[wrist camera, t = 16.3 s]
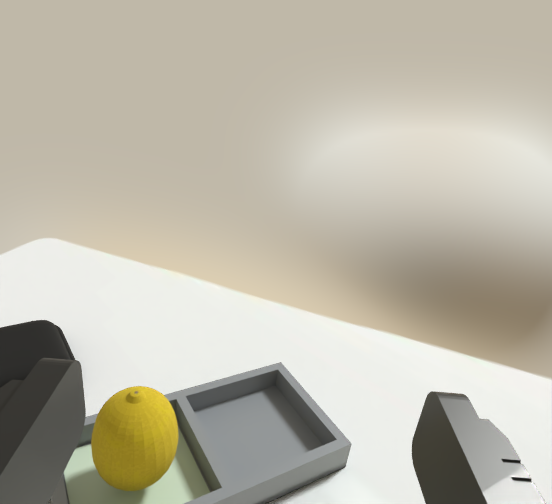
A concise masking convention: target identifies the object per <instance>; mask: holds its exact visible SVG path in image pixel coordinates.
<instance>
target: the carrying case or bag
mask: <svg viewBox="0 0 552 504" xmlns="http://www.w3.org/2000/svg"><path fill="white" fill-rule="evenodd" d="M42 358H53V359H65V360H75V358H74V356H73V354H72V352H71V349H70V347H69V345H68V343H67V341H66V338H65V336H64V334H63V332H62V330H61V329H60V328H59V327H58V326H56V325H54V324H53V323H51V322H49V321H46V320H37V321H31V322H26V323H21V324H16V325H11V326H6V327H1V328H0V388H1V387H2V386H4V385H5V384H7V383H8V382H10V381H11V380H25V378H26V377H27V376H28V374H29V373H30V372H31V370H32V369H33V368H34V366H35V365H36V364H37V362H38V361H39V360H40V359H42Z"/></svg>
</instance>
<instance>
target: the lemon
mask: <svg viewBox="0 0 552 504" xmlns="http://www.w3.org/2000/svg"><path fill="white" fill-rule="evenodd" d="M178 437H179V436H178V425H177V419H176V415H175V412H174V410H173V408H172V406H171V404H170V402H169V400H168V399H167V398H166V397H165V396H164V395H163V394H162V393H160V392H158V391H156V390H155V389H152V388H149V387H142V386H137V387H130V388H126V389H124V390H122V391H119V392H118V393H116V394H115V395H113V396H112V397H111V398H110V399H109V400H108V401H107V402H106V403H105V404H104V405H103V407H102V408H101V410H100V412H99V413H98V415H97V418H96V421H95V424H94V428H93V432H92V438H91V448H92V458H93V462H94V465H95V467H96V469H97V471H98V473H99V475H100V476H101V477H102V479H103V480H104V481H105V482H106V483H107V484H109V485H110V486H112V487H114V488H116V489H119V490H124V491H137V490H142V489H144V488H147V487H149V486H151V485H153V484H154V483H156V482H157V481H158V480H160V479H161V478H162V476H163V475H164V474H165V473H166V472H167V471H168V469H169V467H170V465H171V464H172V462H173V460H174V457H175V454H176V450H177V445H178Z"/></svg>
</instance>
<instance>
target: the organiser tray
mask: <svg viewBox="0 0 552 504" xmlns="http://www.w3.org/2000/svg"><path fill="white" fill-rule="evenodd" d="M164 396H165V397H166V398H167V399H168V400H169V402H170V404H171V406H172V408H173V410H174V412H175V415H176V419H177V425H178V436H179V437H178V445H177V450H176V454H175V457H174V460H173V462H172V464H171V465H170V467H169V469H168V471H167V472H166V473H165V474H164V475H163V476H162V478H161V479H160V480H158V481H157V482H156V483H154V484H153V485H151V486H149V487H147V488H144V489H142V490H137V491H124V490H119V489H116V488H114V487H112V486H110V485H109V484H107V483H106V482H105V481H104V480H103V479H102V477H101V476H100V475H99V473H98V471H97V469H96V467H95V465H94V462H93V458H92V448H91V438H92V432H93V428H94V424H95V421H96V418H97V415H98V414H95V415H92V416H88V417H85V423H84V428H83V432H82V435H81V437H80V440H79V442H78V444H77V446H76V448H75V450H74V452H73V454H72V456H71V458H70V460H69V462H68V464H67V466H66V468H65V470H64V472H63V474H62V476H61V479H60V481H59V483H58V485H57V487H56V489H55V491H54V493H53V495H52V497H51V503H52V504H266V503H268V502H270V501H272V500H275V499H277V498H279V497H281V496H283V495H285V494H288V493H290V492H292V491H294V490H296V489H298V488H300V487H303V486H305V485H307V484H309V483H311V482H313V481H316V480H318V479H320V478H322V477H324V476H326V475H329V474H331V473H333V472H335V471H337V470H339V469H341V468H344V467H345V466H346V463H347V459H348V455H349V451H350V447H351V443H350V441H349V440H348V439H347V438H346V437H345V436H344V434H343V433H342V432H341V431H340V430H339V429H338V428H337V426H336V425H335V424H334V423H333V422H332V421H331V420H330V418H329V417H328V416H327V415H326V414H325V413H324V412H323V410H322V409H321V408H320V407H319V406H318V405H317V403H316V402H315V401H314V400H313V399H312V398H311V397H310V395H309V394H308V393H307V392H306V391H305V390H304V389H303V387H302V386H301V385H300V384H299V383H298V382H297V380H296V379H295V378H294V377H293V376H292V375H291V374H290V372H289V371H288V370H287V369H286V368H285V367H284V366H283V364H282V363H281V362H280V363H277V364H273V365H269V366H266V367H262V368H259V369H255V370H252V371H248V372H245V373H241V374H237V375H234V376H230V377H227V378H223V379H220V380H216V381H213V382H209V383H205V384H202V385H198V386H195V387H191V388H188V389H184V390H181V391H177V392H173V393H170V394H166V395H164Z"/></svg>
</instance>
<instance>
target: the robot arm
mask: <svg viewBox="0 0 552 504" xmlns="http://www.w3.org/2000/svg"><path fill="white" fill-rule="evenodd" d="M84 423H85V401H84V390H83V380H82V370H81V365H80V362H79V361H76V360H65V359H53V358H42V359H40V360H39V361H38V362H37V364H36V365H35V366H34V368H33V369H32V370H31V372H30V373H29V374H28V376H27V377H26V378H25V380H11V381H10V382H8V383H7V384H5V385H4V386H2V387H1V388H0V504H48V503H49V501H50V499H51V497H52V495H53V493H54V491H55V489H56V487H57V485H58V483H59V481H60V479H61V476H62V474H63V472H64V470H65V468H66V466H67V464H68V462H69V460H70V458H71V456H72V454H73V452H74V450H75V448H76V446H77V444H78V442H79V440H80V437H81V435H82V432H83V428H84ZM412 459H413V465H414V469H415V472H416V475H417V478H418V481H419V484H420V487H421V490H422V493H423V496H424V499H425V502H426V504H546V502H545V501H544V499H543V497H542V496H541V494H540V492H539V491H538V489H537V487H536V485H535V484H534V483H532V482H531V477H530V475H529V474H528V472H527V470H526V468H525V467H524V465H523V464H521V463H520V461H521V460H520V458H519V457H518V455H517V453H516V451H515V450H514V448H513V446H512V445H511V443H510V441H509V440H508V438H507V437H506V436H505V435H504V434H503V433H502V432H501V431H500V430H499V429H498V428H496V427H495V426H494V425H493V424H492V423H491V422H490V421H489V420H488V419H479V417H478V415H477V413H476V411H475V410H474V408H473V406H472V404H471V402H470V400H469V399H468V397H467V396H466V395H464V394H456V393H444V392H430V393H429V394H428V395H427V398H426V400H425V403H424V406H423V409H422V413H421V416H420V419H419V422H418V425H417V428H416V431H415V434H414V437H413V442H412Z"/></svg>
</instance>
